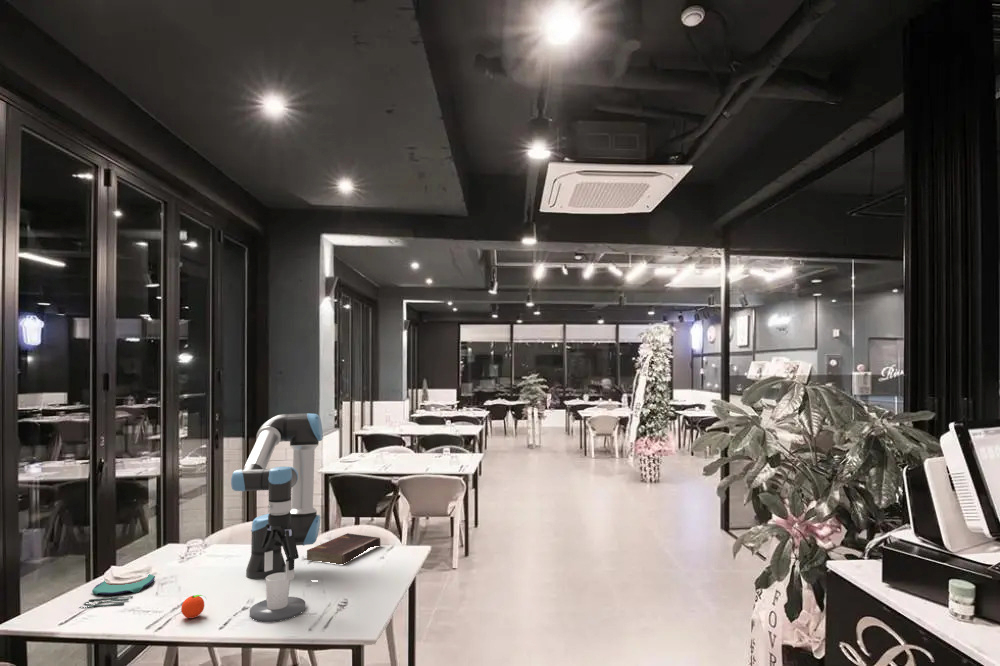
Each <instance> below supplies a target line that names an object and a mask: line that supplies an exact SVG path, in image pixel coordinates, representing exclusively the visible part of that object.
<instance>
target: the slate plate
mask: <svg viewBox="0 0 1000 666" xmlns="http://www.w3.org/2000/svg"><path fill="white" fill-rule="evenodd" d="M306 605H307V604H306V601H305V599H303V598H301V597H299V596H298V597H297V596H288V605H287V606H286V607H284V608H282V609H277V610H270V609H268V608H267V600H266V599H265V600H262V601H259V602H257V603H255V604H254V605H252V606H251V607H250V609H249V618H250V617H251V618H252V619H251V618H250V619H251V620H253V619H254V620H253V621H255V620H257V621H256V622H259V621H262V622H261V623H273V621H276V622H281V621H280V620H282V621H286V620H290V619H293V618H295V617H297V616H299V615H301V614H302V613H303V612H304V611H305V610H306ZM304 609H305V610H304ZM301 612H302V613H301ZM300 613H301V614H300ZM294 616H295V617H294ZM292 617H293V618H292ZM289 618H290V619H289ZM285 619H286V620H285Z"/></svg>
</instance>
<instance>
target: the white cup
mask: <svg viewBox="0 0 1000 666" xmlns="http://www.w3.org/2000/svg"><path fill="white" fill-rule="evenodd" d="M285 576H286V572H284V573H274V574H271V575H268V576H267V577H266V578H265V597H266V599H265V600H267V608H268V609H270V610H277V609H282V608H284V607H286V606H287V605H288V597H290V596H289V595H290V585H291V583H290V581H291V579H290V580H287V581H286V580H285Z"/></svg>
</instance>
